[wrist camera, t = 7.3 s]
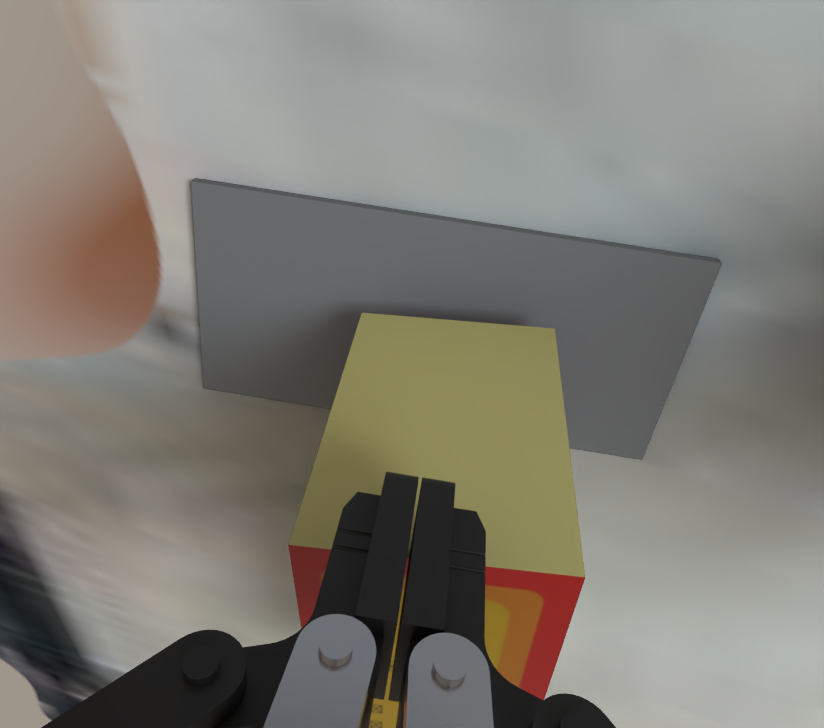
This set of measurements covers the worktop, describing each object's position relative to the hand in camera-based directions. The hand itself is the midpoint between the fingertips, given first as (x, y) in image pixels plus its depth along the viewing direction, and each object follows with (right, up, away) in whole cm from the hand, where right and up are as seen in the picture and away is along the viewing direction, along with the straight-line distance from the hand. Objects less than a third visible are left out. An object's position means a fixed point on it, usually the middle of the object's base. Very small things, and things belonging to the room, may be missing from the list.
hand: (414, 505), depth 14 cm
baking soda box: (+1, +2, +4) cm, 4 cm away
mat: (+1, +4, +10) cm, 11 cm away
